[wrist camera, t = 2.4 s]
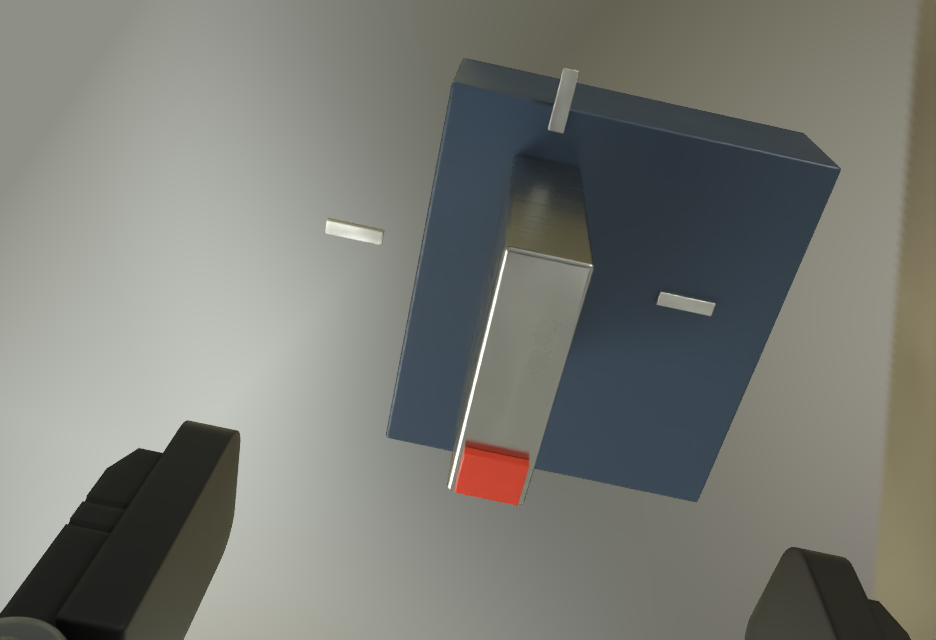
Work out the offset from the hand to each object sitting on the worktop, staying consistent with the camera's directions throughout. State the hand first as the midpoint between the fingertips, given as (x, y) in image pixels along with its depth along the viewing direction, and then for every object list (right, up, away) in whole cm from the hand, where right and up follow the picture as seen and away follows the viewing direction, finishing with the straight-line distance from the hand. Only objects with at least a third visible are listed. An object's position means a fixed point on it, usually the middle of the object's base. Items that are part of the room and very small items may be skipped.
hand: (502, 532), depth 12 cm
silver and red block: (+1, +4, +8) cm, 9 cm away
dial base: (+2, +5, +11) cm, 13 cm away
